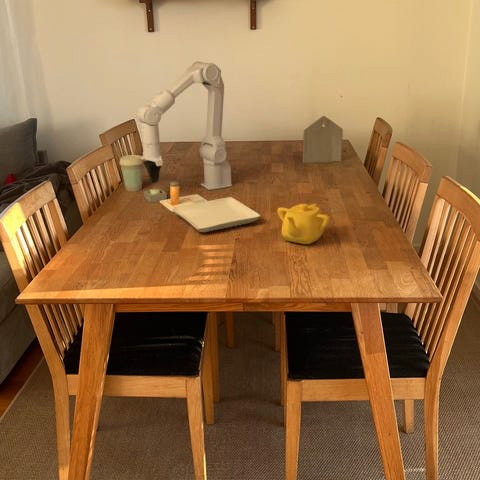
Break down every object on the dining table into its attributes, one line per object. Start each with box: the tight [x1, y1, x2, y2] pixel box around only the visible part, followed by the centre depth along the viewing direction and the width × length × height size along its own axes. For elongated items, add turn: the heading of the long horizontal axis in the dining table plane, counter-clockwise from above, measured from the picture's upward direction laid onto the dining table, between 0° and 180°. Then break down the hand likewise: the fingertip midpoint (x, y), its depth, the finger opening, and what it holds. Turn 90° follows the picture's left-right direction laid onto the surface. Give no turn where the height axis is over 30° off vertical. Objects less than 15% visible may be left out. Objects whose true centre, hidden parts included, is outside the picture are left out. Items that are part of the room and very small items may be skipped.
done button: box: [149, 187, 161, 195], centre depth 199 cm, size 3×3×3 cm
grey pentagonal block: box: [302, 115, 344, 164], centre depth 241 cm, size 16×8×19 cm, turn 94°
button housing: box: [143, 188, 168, 203], centre depth 199 cm, size 6×6×2 cm
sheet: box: [159, 193, 208, 213], centre depth 194 cm, size 14×12×1 cm
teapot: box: [277, 203, 331, 245], centre depth 161 cm, size 14×13×10 cm
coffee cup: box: [119, 154, 144, 193], centre depth 209 cm, size 8×8×12 cm
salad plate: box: [173, 196, 261, 233], centre depth 178 cm, size 21×21×3 cm
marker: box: [169, 180, 181, 205], centre depth 191 cm, size 3×3×7 cm
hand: (154, 181), depth 198 cm, fingers closed
